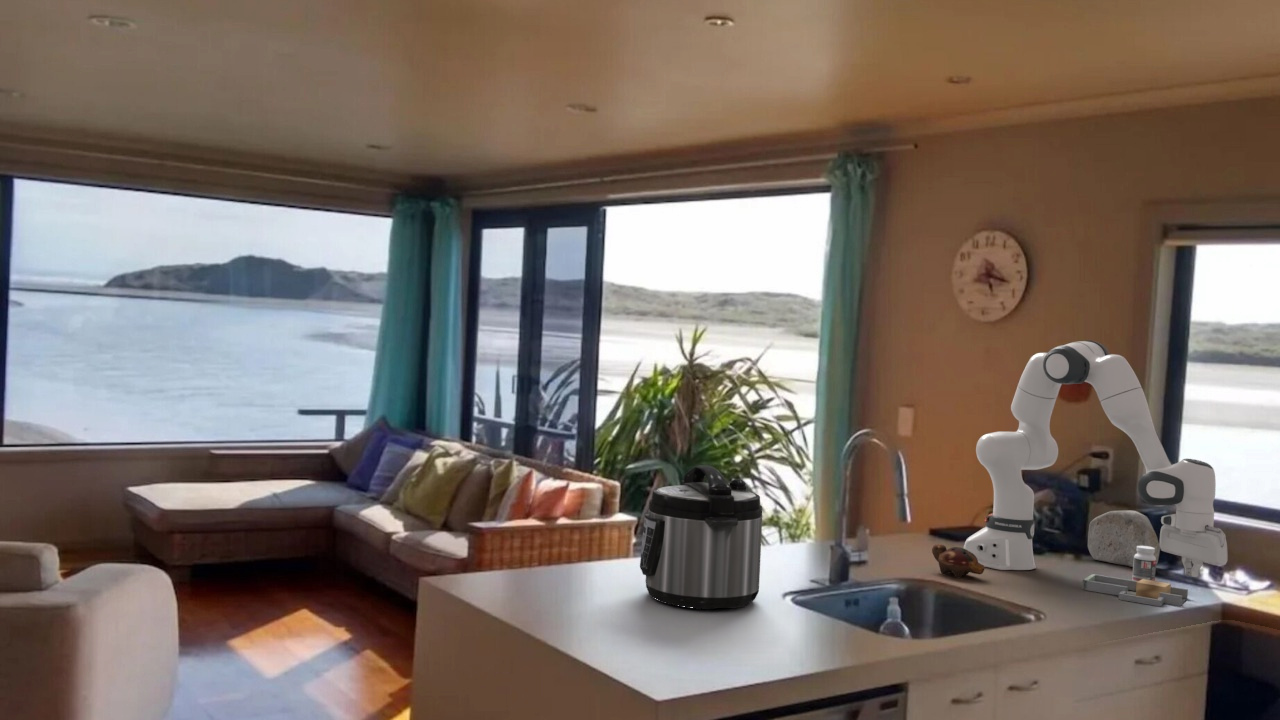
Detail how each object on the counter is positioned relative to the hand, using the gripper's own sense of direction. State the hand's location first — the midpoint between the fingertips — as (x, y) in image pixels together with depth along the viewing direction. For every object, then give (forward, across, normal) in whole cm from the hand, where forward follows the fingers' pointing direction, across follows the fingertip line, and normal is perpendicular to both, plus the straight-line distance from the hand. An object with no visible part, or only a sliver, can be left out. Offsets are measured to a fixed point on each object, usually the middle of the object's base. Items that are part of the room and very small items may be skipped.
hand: (1191, 575), depth 293 cm
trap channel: (+7, +9, +10) cm, 15 cm away
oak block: (+7, +7, +5) cm, 12 cm away
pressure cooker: (+7, +12, +130) cm, 131 cm away
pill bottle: (+7, +23, -5) cm, 25 cm away
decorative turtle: (+7, +34, +48) cm, 59 cm away
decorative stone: (+7, +46, -16) cm, 50 cm away
